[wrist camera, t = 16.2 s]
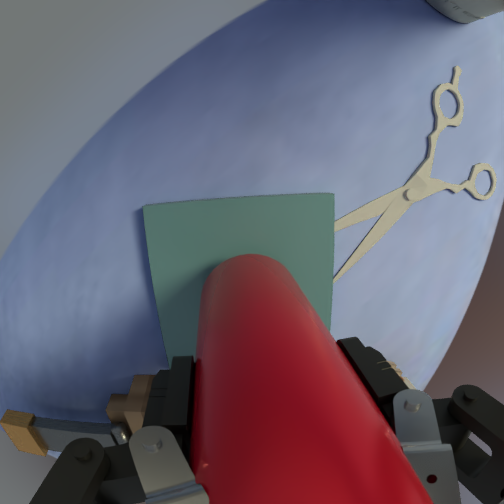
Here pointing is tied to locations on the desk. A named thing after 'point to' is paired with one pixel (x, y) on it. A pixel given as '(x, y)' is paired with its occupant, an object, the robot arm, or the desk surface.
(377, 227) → the scissors
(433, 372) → the desk surface
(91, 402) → the desk surface
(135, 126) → the desk surface
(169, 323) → the coaster
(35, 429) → the lever
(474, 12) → the robot arm
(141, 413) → the holder
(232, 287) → the bottle
